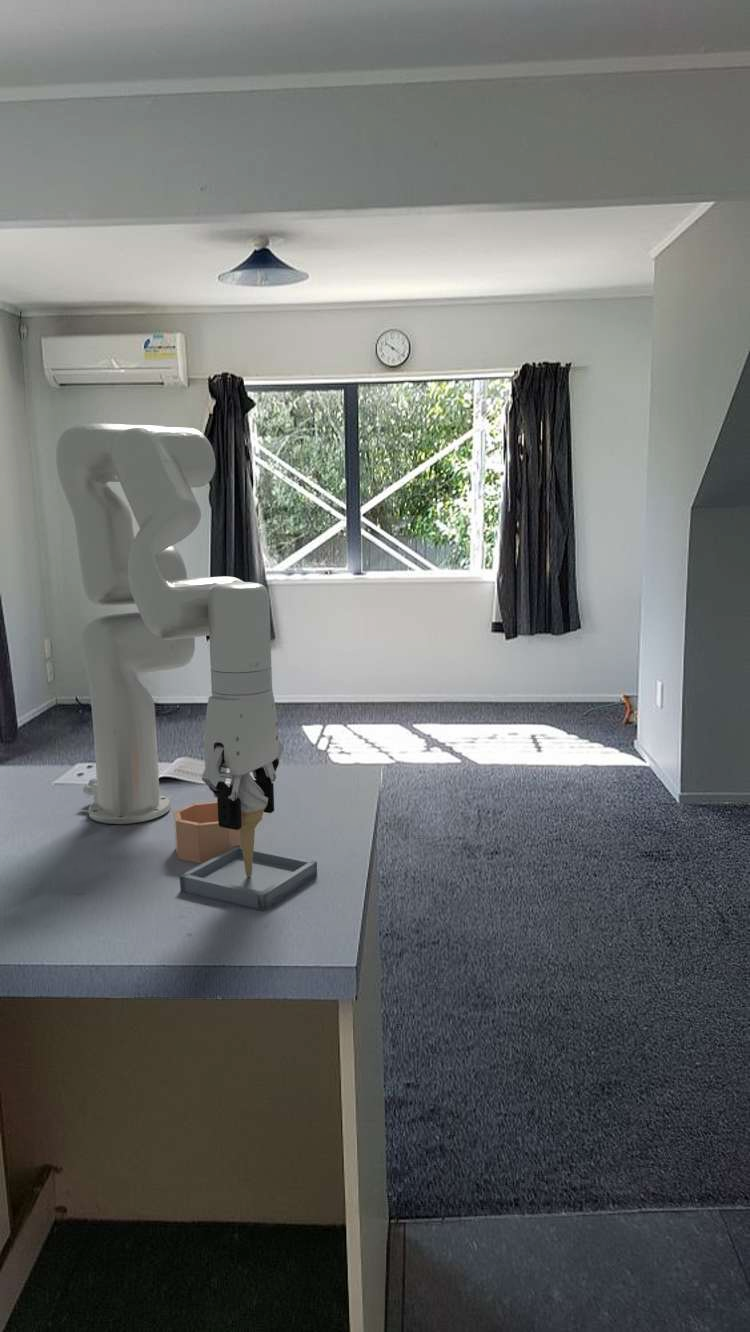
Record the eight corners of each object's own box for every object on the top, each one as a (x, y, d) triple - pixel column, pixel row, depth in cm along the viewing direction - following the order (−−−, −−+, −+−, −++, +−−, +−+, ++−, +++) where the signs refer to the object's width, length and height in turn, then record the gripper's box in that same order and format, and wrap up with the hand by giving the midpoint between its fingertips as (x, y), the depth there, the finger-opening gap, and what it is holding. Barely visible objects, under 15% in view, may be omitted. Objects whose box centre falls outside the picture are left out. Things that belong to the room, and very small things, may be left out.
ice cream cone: (262, 887, 121) (259, 772, 118) (220, 884, 122) (216, 770, 119) (275, 870, 126) (272, 760, 124) (235, 867, 127) (231, 758, 125)
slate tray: (180, 890, 122) (179, 875, 122) (237, 858, 132) (237, 845, 132) (263, 910, 116) (263, 895, 115) (317, 875, 126) (316, 861, 126)
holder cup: (162, 855, 134) (160, 817, 133) (206, 833, 142) (204, 798, 141) (216, 867, 129) (214, 828, 128) (258, 844, 138) (257, 807, 137)
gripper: (258, 668, 128) (262, 796, 132) (172, 692, 114) (179, 836, 117) (305, 672, 125) (308, 804, 128) (222, 698, 110) (228, 846, 113)
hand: (247, 818), depth 123 cm, fingers open, 6 cm apart
